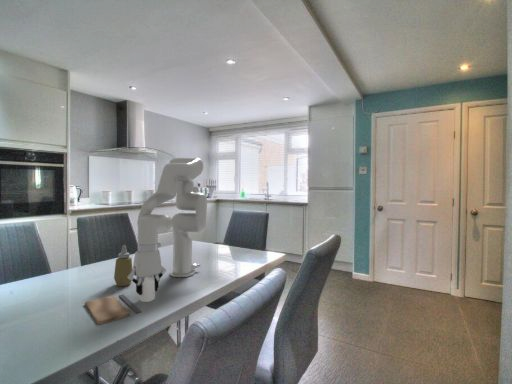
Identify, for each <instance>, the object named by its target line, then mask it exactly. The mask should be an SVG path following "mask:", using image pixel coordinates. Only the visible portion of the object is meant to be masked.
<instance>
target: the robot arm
mask: <svg viewBox="0 0 512 384" xmlns="http://www.w3.org/2000/svg"><path fill="white" fill-rule="evenodd" d="M203 171H204V162H203V160H202V159H201V158H200V157H176V158H175V157H174V158H171V160H170V161H169V162H168V163H167V164H165V165H164V167H163V169H162V171H161V172H162V173H161V176H160V179H159V181H158V186H157V189H156V191H155V192H154V193H152V194H151V195H150V196H149V197H148V198H147V199H146V200H145V201H144V203H143V204H142V206H141V208H140V209H139V210H140V211H139V213H138V217H137V223H136V224H137V225H136V226H137V251H135V252H134V258H133V262H132V267H133V271H132V272H131V273H130V274H129V275H128V277H127V278H128V279H130V280H131V282H133V283H134V284H135V292H136V293H137V294H138V295H139V296H140V295H141V294H142V285H141V281H142V278H143V277H148V276H153V277H154V279H155V292H158V290H159V289H158V288H159V284H160V283H159V281H160V280H161V278H162V277H163V275H164V274H165V273H166V272H167V269H166V268H165V267H164V266H163V265H162V260H161V253H160V250H159V248H160V247H161V246H162V243H161V242H159V234H161V233H167V232H169V231H170V230H171V229H172V238H173V239H172V240H173V242H172V243H173V247H172V250H173V251H172V253H173V254H172V257H173V258H172V262H173V263H172V269H171V270H170V272H169V275H170V276H171V277H174V278H186V277H187V278H188V277H191V276H194V275H195V272H196V270H195V269H197V268H198V269H199V268H201V263H193V238H192V236H191V234H190V233H203V232H204V231H205V229H206V225H207V214H208V213H207V212H208V198H207V196H206V194H204V193H203V192H194V188H195V187H194V186H195V184H194V180H195V179H196V178H198V177H199V176H200V175H201V174H202V172H203ZM175 197H176V198H175ZM174 198H175V206H176V208H177V210H180V211H189V212H178V213H175V214H174V215H173V216H172V217H170V216H169V215H166V214H157V213H156V214H152V213H153V211H154V210H155V208H157V207H158V206H160V205H162V204H164V203H166V202H168V201H171V200H173V199H174ZM190 211H193V212H194V211H195V212H194V213H193V212H192V213H191V212H190ZM134 276H136V278H135V277H134Z"/></svg>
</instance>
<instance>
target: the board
mask: <svg viewBox="0 0 512 384" xmlns="http://www.w3.org/2000/svg"><path fill="white" fill-rule="evenodd" d="M84 305H85V307H86V308H87V310H88V311H89V313H90V314H91V315H92V317H93V318H94V320H95V323H97V324H98V325H102V324H106V323H109V322H114V321H116V320H120V319H124V318H126V317H130V316H131V312H130V311H129V310H128V309H127V307H125V306H124V305H123V304H122V302H120V300H118V298H117V297H116V296H115V295H109V296H105V297H99V298H97V299H93V300H89V301H88V300H87V301H84Z"/></svg>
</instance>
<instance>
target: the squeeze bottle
mask: <svg viewBox="0 0 512 384" xmlns="http://www.w3.org/2000/svg"><path fill="white" fill-rule="evenodd" d="M127 251H128V250H127V246H126V245H122V246H121V251H120V253H118V256H117V259H115V264H114V265H115V266H114V275H113V279H114V282H115V285H116V286H117V287H126V286H129V285H131V283H132V281H131V280H130V279H128V278H127V277H128V275H129V274H130V273H131V272H132V271H133V260H132V259H133V258H132V257H130V252H127Z"/></svg>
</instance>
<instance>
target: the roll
mask: <svg viewBox="0 0 512 384" xmlns="http://www.w3.org/2000/svg"><path fill="white" fill-rule="evenodd" d="M141 285H142V294H141V295H139V296H140V301H141V302H142V303H149V302H152V301H154V300H155V298H156V291H155V279H154V277H153V276H148V277H143V278H142V281H141Z"/></svg>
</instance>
